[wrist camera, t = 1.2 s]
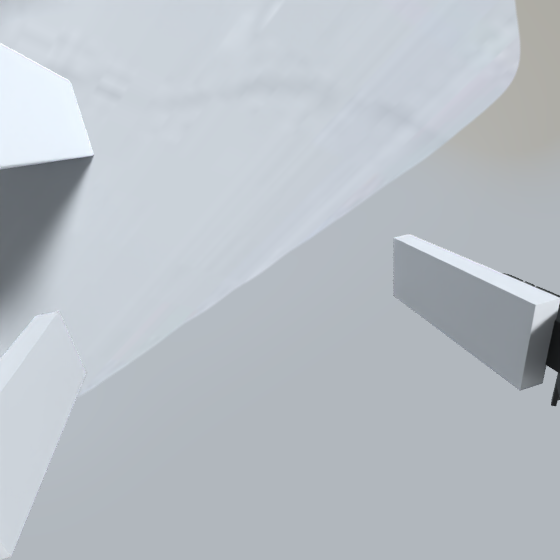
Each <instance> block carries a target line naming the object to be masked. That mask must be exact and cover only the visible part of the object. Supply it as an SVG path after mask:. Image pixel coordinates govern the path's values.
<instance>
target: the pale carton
mask: <svg viewBox="0 0 560 560" xmlns="http://www.w3.org/2000/svg"><path fill="white" fill-rule="evenodd" d="M89 156H94V153H93V150H92V147H91V143H90V140H89V137H88V134H87V131H86V128H85V125H84V122H83V119H82V116H81V113H80V110H79V106H78V103H77V100H76V97H75V94H74V91H73V88H72V85H71V82H70V81H69V80H67V79H66V78H64V77H62V76H60V75H58V74H56V73H55V72H53V71H51V70H49V69H47V68H45V67H44V66H42V65H40V64H38V63H36V62H34V61H33V60H31V59H29V58H27V57H25V56H23V55H22V54H20V53H18V52H16V51H14V50H12V49H11V48H9V47H7V46H5V45H3V44H1V43H0V169H6V168H13V167H20V166H27V165H34V164H41V163H48V162H54V161H61V160H68V159H75V158H82V157H89Z"/></svg>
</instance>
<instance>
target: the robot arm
mask: <svg viewBox="0 0 560 560" xmlns="http://www.w3.org/2000/svg"><path fill="white" fill-rule="evenodd" d="M394 296H395V297H396V298H397V299H399V300H400V301H401V302H403V303H404V304H405V305H407V306H408V307H409V308H411V309H412V310H413V311H415V312H416V313H417V314H419V315H420V316H421V317H423V318H424V319H425V320H427V321H428V322H429V323H431V324H432V325H433V326H435V327H436V328H437V329H439V330H440V331H441V332H443V333H444V334H445V335H447V336H448V337H449V338H451V339H452V340H453V341H455V342H456V343H457V344H459V345H460V346H461V347H463V348H464V349H465V350H467V351H468V352H469V353H471V354H472V355H473V356H475V357H476V358H477V359H479V360H480V361H481V362H483V363H484V364H485V365H487V366H488V367H490V368H491V369H492V370H493V371H495V372H496V373H497V374H499V375H500V376H501V377H503V378H504V379H505V380H507V381H508V382H509V383H511V384H512V385H513V386H515V387H516V388H517V389H519V390H523V389H526V388H529V387H533V386H536V385H539V384H542V383H543V378H544V374H545V369H546V365H547V366H549V367H550V368H552V369H554V370H555V371H557V372H558V375H557V379H556V384H555V388H554V392H553V397H552V402H551V405H552V406H556V404H557V401H558V400H560V296H559V295H556V294H554V293H552V292H550V291H547V290H545V289H542V288H540V287H535V286H534V285H533V284H531V283H528V282H523V280H521V279H519V278H516V277H514V276H512V275H509V274H505V273H500V272H498V271H496V270H493V269H491V268H489V267H486V266H484V265H482V264H479V263H477V262H474V261H472V260H470V259H467V258H465V257H463V256H460V255H458V254H456V253H453V252H451V251H449V250H446V249H444V248H441V247H439V246H437V245H434V244H432V243H430V242H427V241H425V240H422V239H420V238H418V237H415V236H413V235H411V234H408V235H403V236H399V237H394ZM86 373H87V372H86V370H85V368H84V366H83V363H82V361H81V359H80V357H79V354H78V352H77V350H76V348H75V345H74V343H73V341H72V338H71V336H70V334H69V332H68V329H67V327H66V325H65V323H64V320H63V318H62V316H61V314H60V311H55V312H50V313H46V314H41V315H36V316H35V317H34V318H33V320H32V321H31V322H30V323H29V324H28V326H27V327H26V328H25V329H24V331H23V332H22V333H21V334H20V335H19V337H18V338H17V339H16V340H15V341H14V343H13V344H12V345H11V346H10V347H9V349H8V350H7V351H6V352H5V354H4V355H3V356H2V357H1V358H0V560H3V559H6V558H9V557H12V554H13V552H14V550H15V547H16V545H17V542H18V540H19V537H20V535H21V532H22V530H23V527H24V525H25V522H26V520H27V518H28V515H29V513H30V510H31V508H32V505H33V503H34V500H35V498H36V495H37V493H38V491H39V488H40V486H41V483H42V481H43V478H44V476H45V473H46V471H47V469H48V466H49V464H50V461H51V459H52V456H53V454H54V451H55V449H56V447H57V444H58V442H59V439H60V437H61V434H62V432H63V429H64V427H65V425H66V422H67V419H68V417H69V415H70V412H71V410H72V407H73V405H74V402H75V400H76V398H77V395H78V393H79V390H80V388H81V385H82V383H83V380H84V378H85V376H86Z"/></svg>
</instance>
